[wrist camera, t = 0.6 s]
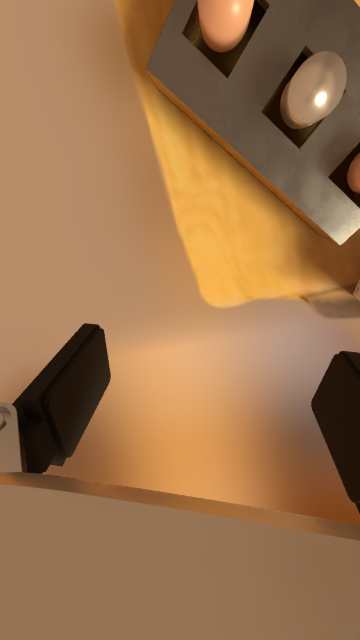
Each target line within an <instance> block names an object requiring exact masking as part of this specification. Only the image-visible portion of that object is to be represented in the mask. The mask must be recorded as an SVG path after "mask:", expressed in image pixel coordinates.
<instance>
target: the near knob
mask: <svg viewBox="0 0 360 640" xmlns="http://www.w3.org/2000/svg"><path fill="white" fill-rule="evenodd" d="M253 3H254V0H198V12H199V23H200V30H201V34H202V37H203V39H204V41H205V43H206V44H207V45H208V46H209V47H210V48H211V49H212V50H214V51H216V52H227V51H229V50H231V49H233V48H234V47H235V46H237V45H238V43H239V42H240V41H241V40H242V38H243V37H244V35H245V33H246V30H247V28H248V24H249V21H250V16H251V12H252V7H253Z"/></svg>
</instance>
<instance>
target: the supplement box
mask: <svg viewBox="0 0 360 640" xmlns="http://www.w3.org/2000/svg"><path fill="white" fill-rule="evenodd" d="M353 296H354V297H355V298H357V299H358V300H359V301H360V279H359V282H358V284H357V286H356V289H355V291H354V293H353Z"/></svg>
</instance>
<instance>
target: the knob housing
mask: <svg viewBox="0 0 360 640" xmlns="http://www.w3.org/2000/svg"><path fill="white" fill-rule="evenodd" d="M257 1H258V3H259V4H260V5H261V6H262V7H263V8H264V9H265V10H266V13H265V15H264V17H263V18H262V20H261V22H260V23H259V25H258V27H257V29H256V30H255V32H254V34H253V36H252V37H251V39H250V41H249V42H248V44H247V46H246V48H245V49H244V51H243V53H242V55H241V56H240V58H239V60H238V61H237V63H236V65H235V67H234V68H233V70H232V72H231V74H230V75H229V77H228V79H227V78H226V77H225V76H224V75H223V74H222V73H221V72H220V71H219V70H218V69H217V68H216V67H215V66H214V65H213V64H212V63H211V62H210V61H209V60H208V59H207V58H206V57H205V56H204V55H203V54H202V53H201V52H200V51H199V50H198V49H197V48H196V47H195V46H194V45H193V44H192V43H193V41H194V39H195V37H196V35H197V33H198V30H199V28H200V23H199V12H198V0H175V1H174V4H173V6H172V8H171V11H170V13H169V15H168V18H167V20H166V22H165V25H164V27H163V29H162V32H161V34H160V36H159V39H158V41H157V43H156V46H155V48H154V50H153V53H152V55H151V57H150V60H149V62H148V64H147V67H146V70H147V72H148V73H149V75H150V77H151V78H152V80H153V81H154V83H155V85H156V86H157V88H158V90H159V91H160V92H161V93H163V94H164V95H165V96H166V97H167V98H168V99H169V100H170V101H171V102H173V103H174V104H175V105H176V106H177V107H178V108H179V109H180V110H181V111H183V112H184V113H185V114H186V115H187V116H188V117H189V118H190V119H191V120H193V121H194V122H195V123H196V124H197V125H198V126H199V127H200V128H201V129H203V130H204V131H205V132H206V133H207V134H208V135H209V136H210V137H211V138H213V139H214V140H215V141H216V142H217V143H218V144H219V145H220V146H221V147H223V148H224V149H225V150H226V151H227V152H228V153H229V154H230V155H231V156H233V157H234V158H235V159H236V160H237V161H238V162H239V163H240V164H241V165H243V166H244V167H245V168H246V169H247V170H248V171H249V172H250V173H251V174H253V175H254V176H255V177H256V178H257V179H258V180H259V181H260V182H261V183H263V184H264V185H265V186H266V187H267V188H268V189H269V190H270V191H271V192H273V193H274V194H275V195H276V196H277V197H278V198H279V199H280V200H281V201H283V202H284V203H285V204H286V205H287V206H288V207H289V208H290V209H291V210H293V211H294V212H295V213H296V214H297V215H298V216H299V217H300V218H301V219H303V220H304V221H305V222H306V223H307V224H308V225H309V226H310V227H311V228H313V229H314V230H315V231H316V232H317V233H318V234H319V235H321V236H323V237H325V238H326V239H328V240H330V241H332V242H334V243H336V244H338V245H342V244H343V243H344V242H345V241H346V240H347V239H348V238H349V237H350V236H351V235H352V234H354V233H355V232H356V231H357V230H358V229H359V228H360V193H357V192H354V191H353V192H352V193H351V194H350V195H349V196H348V197H347V196H346V195H345V194H344V193H343V192H342V191H341V190H340V189H339V188H338V187H337V186H336V185H335V184H334V183H333V182H332V181H331V180H330V179H329V178H328V177H329V175H330V174H331V173H332V172H333V171H334V170H335V169H336V168H337V167H338V166H339V164H340V163H341V162H342V161H343V160H344V159H345V158H346V157H347V156H348V155H349V153H350V152H351V151H352V150H353V149H354V148H355V147H356V146H357V145H358V144H359V142H360V7H359V6H358V5H357V3H356V2H355V1H354V0H257ZM302 51H303V53H304V54H305V55H306V56H307V57H308V58H309V57H311V56H312V55H314V54H316V53H319V52H323V51H330V52H333V53H336V54H337V55H338V56H339V57H341V59H342V60H343V62H344V64H345V67H346V75H347V78H346V86H345V89H344V92H343V95H342V97H341V99H340V101H339V103H338V104H337V106H336V107H335V108H334V109H333V111H332V112H331V113H330V114H328V115H327V116H326V117H324V118H323V119H321V120H320V122H319V123H318V124H317V125H316V127H315V128H314V129H313V130H312V132H311V133H310V134H309V135H308V137H307V138H306V139H305V140H304V142H303V143H302V144H301V145H300V147H299V148H298V147H297V146H296V145H295V144H294V143H293V142H291V141H290V140H289V139H288V138H287V137H286V136H285V135H284V134H283V133H282V132H281V131H280V130H279V129H278V128H277V127H276V126H275V125H274V124H273V123H272V122H271V121H270V120H269V119H268V118H267V117H266V116H265V115H264V114H263V113H262V112H261V111H262V110H263V108H264V107H265V105H266V104H267V102H268V101H269V99H270V98H271V96H272V95H273V93H274V92H275V90H276V89H277V87H278V86H279V84H280V83H281V81H282V80H283V78H284V77H285V75H286V74H287V73H288V71H289V70H290V68H291V67H292V65H293V64H294V62H295V61H296V59H297V58H298V56H299V55H300V53H301V52H302Z"/></svg>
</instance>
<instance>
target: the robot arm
mask: <svg viewBox="0 0 360 640" xmlns="http://www.w3.org/2000/svg"><path fill="white" fill-rule="evenodd" d="M110 377H111V374H110V368H109V361H108V354H107V348H106V342H105V334H104V330H103V329H101V328H100V326H99V325H96V324H87V323H85V324H83V325H82V326H81V327H80V328H79V330H78V331H77V332H76V333H75V334H74V335H73V336H72V337H71V339H70V340H69V341H68V342H67V343H66V344H65V345H64V347H63V348H62V349H61V350H60V351H59V352H58V353H57V354H56V355H55V357H54V358H53V359H52V360H51V361H50V362H49V363H48V364H47V366H46V367H45V368H44V369H43V370H42V371H41V372H40V373H39V375H38V376H37V377H36V378H35V379H34V380H33V381H32V383H31V384H30V385H29V386H28V387H27V388H26V389H25V390H24V391H23V393H22V394H21V395H20V396H19V397H18V398H17V399H16V400H15V402H14V403H13V404H12V405H11V404H9V403H0V640H360V525H357V524H352V523H346V522H340V521H334V520H328V519H322V518H316V517H310V516H305V515H299V514H292V513H287V512H281V511H275V510H269V509H263V508H257V507H251V506H245V505H239V504H233V503H227V502H221V501H215V500H209V499H202V498H196V497H190V496H184V495H178V494H172V493H166V492H159V491H153V490H147V489H141V488H134V487H128V486H122V485H115V484H109V483H103V482H97V481H90V480H83V479H76V478H68V477H61V476H54V475H47V474H44V472H46V470H47V469H48V467H49V465H57V466H63V464H64V462H65V460H66V458H67V457H68V458H69V457H71V456H72V454H73V453H74V451H75V449H76V447H77V445H78V443H79V441H80V439H81V437H82V435H83V433H84V431H85V429H86V427H87V425H88V423H89V421H90V419H91V417H92V415H93V414H94V412H95V410H96V408H97V405H98V404H99V402H100V400H101V398H102V396H103V394H104V392H105V390H106V388H107V386H108V384H109V382H110ZM311 403H312V404H311V406H312V410H313V412H314V415H315V417H316V420H317V422H318V424H319V427H320V429H321V432H322V434H323V437H324V439H325V441H326V444H327V446H328V448H329V451H330V453H331V456H332V458H333V461H334V463H335V465H336V468H337V470H338V473H339V475H340V477H341V480H342V482H343V484H344V487H345V489H346V492H347V494H348V496H349V498H350V500H351V501H352V502H354V503H355V504H356V506H357V508H358V511H359V513H360V353H357V352H348V351H341V352H339V354H336V355H334V357H333V359H332V361H331V363H330V365H329V367H328V369H327V371H326V373H325V375H324V377H323V379H322V381H321V383H320V385H319V387H318V389H317V391H316V393H315V395H314V397H313V399H312V402H311Z"/></svg>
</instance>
